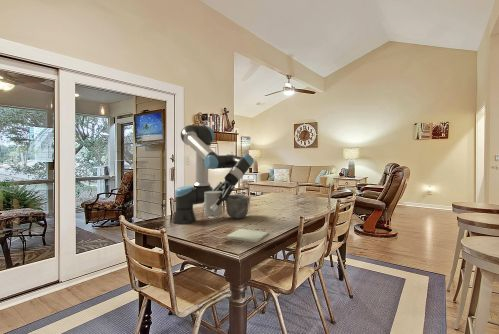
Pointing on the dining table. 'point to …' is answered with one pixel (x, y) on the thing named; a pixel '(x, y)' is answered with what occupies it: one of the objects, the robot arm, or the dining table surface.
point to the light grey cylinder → (209, 200)
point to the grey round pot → (237, 206)
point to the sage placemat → (247, 235)
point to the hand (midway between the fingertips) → (208, 208)
